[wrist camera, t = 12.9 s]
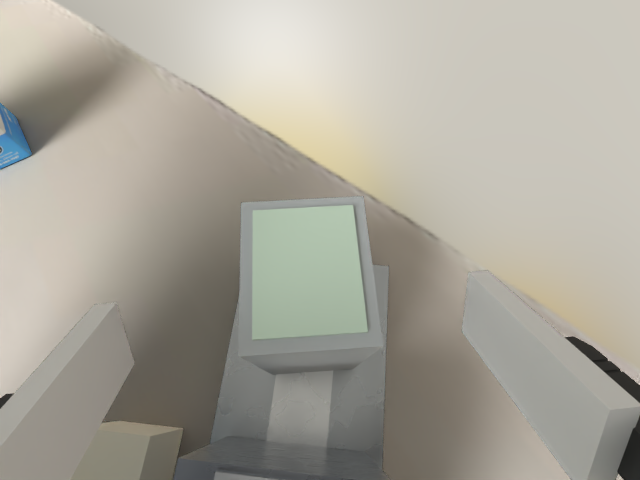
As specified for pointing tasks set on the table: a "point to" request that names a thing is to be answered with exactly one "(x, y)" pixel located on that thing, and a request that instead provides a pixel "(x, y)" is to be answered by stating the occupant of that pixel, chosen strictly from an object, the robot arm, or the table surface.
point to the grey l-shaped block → (297, 419)
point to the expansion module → (306, 285)
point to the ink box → (11, 139)
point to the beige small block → (130, 452)
